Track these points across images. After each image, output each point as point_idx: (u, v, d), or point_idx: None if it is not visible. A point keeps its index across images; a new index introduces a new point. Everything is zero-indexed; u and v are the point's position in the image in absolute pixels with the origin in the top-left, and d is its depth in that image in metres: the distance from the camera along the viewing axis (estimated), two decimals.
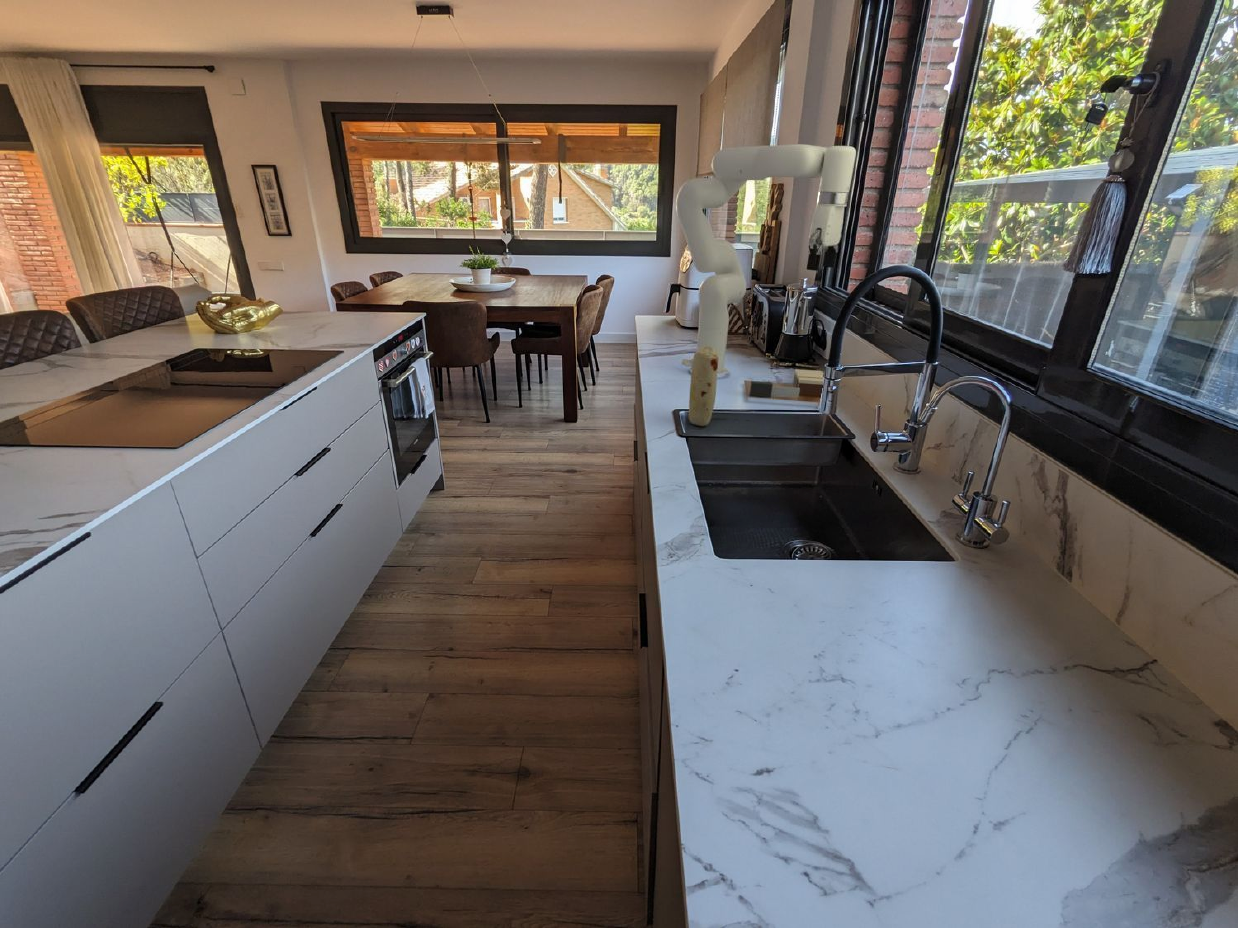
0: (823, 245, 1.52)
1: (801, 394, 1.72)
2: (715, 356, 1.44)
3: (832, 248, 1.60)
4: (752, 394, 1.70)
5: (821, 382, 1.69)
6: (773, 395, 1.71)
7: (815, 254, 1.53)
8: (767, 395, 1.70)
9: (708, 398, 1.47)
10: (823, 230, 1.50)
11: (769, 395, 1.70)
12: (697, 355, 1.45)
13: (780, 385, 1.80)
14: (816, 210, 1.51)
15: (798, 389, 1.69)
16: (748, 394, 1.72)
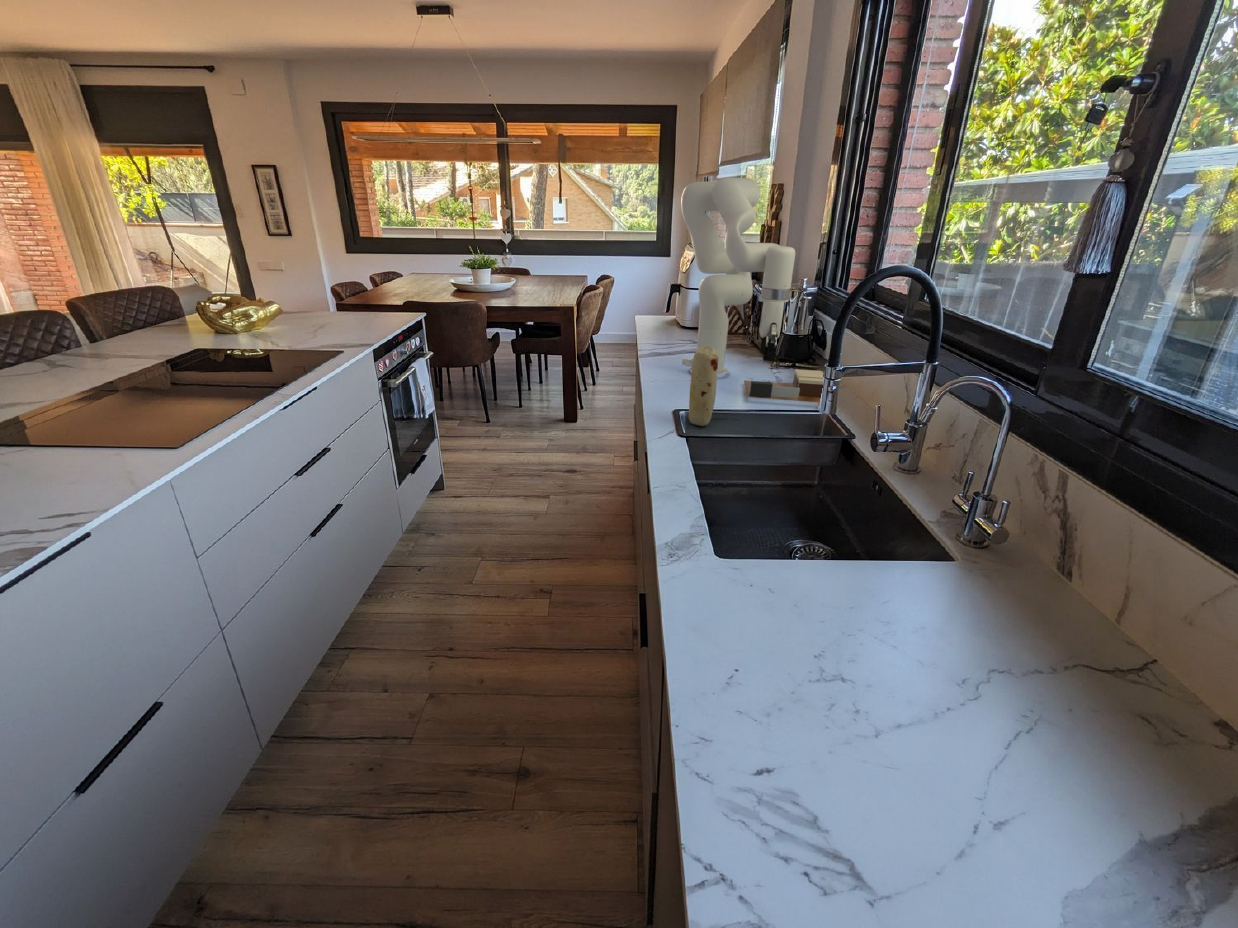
0: (777, 337, 1.59)
1: (801, 394, 1.72)
2: (715, 356, 1.44)
3: None
4: (752, 394, 1.70)
5: (821, 382, 1.69)
6: (773, 395, 1.71)
7: (773, 347, 1.59)
8: (767, 395, 1.70)
9: (708, 398, 1.47)
10: (778, 324, 1.57)
11: (769, 395, 1.70)
12: (697, 355, 1.45)
13: (780, 385, 1.80)
14: (768, 306, 1.56)
15: (798, 389, 1.69)
16: (748, 394, 1.72)
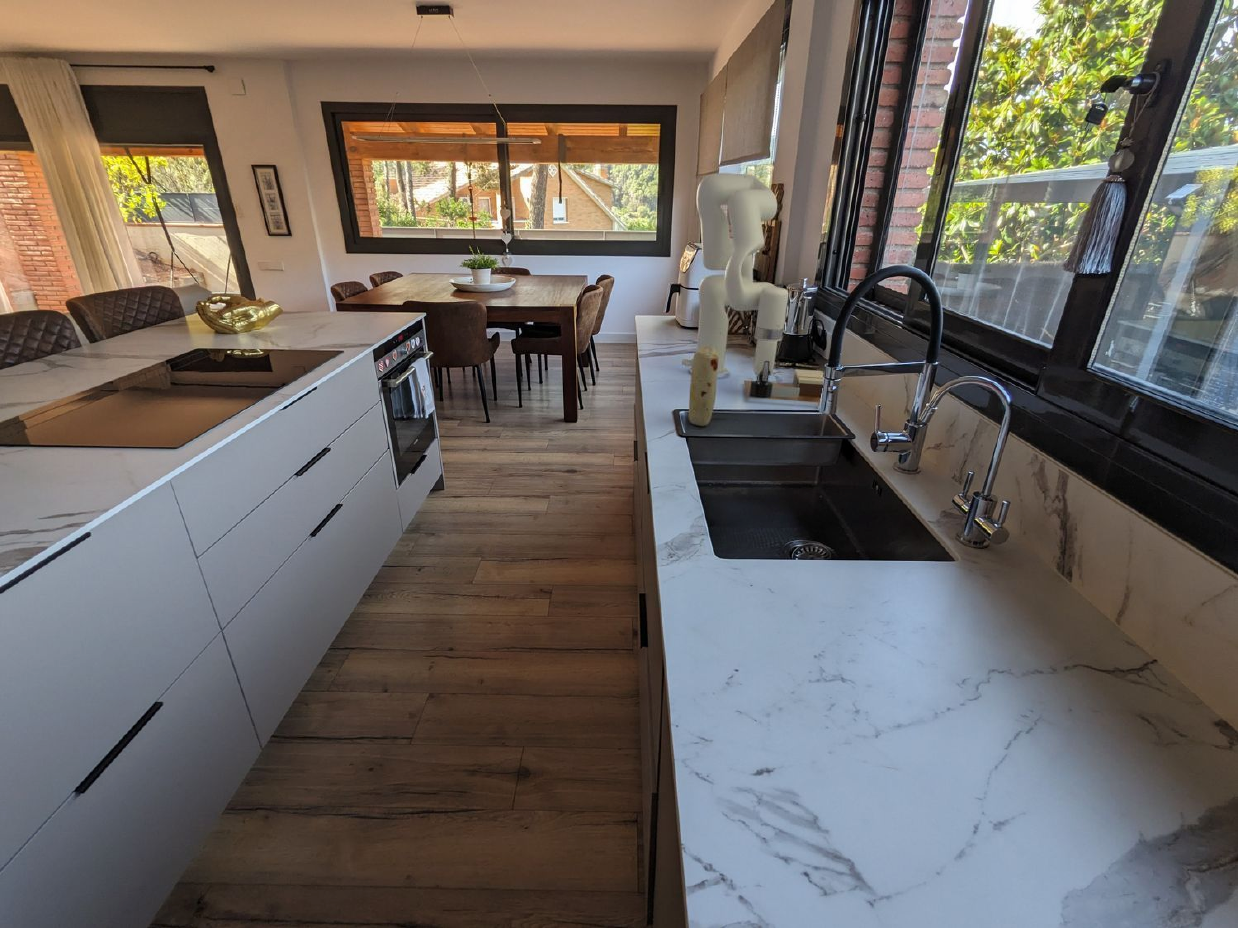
0: (770, 375, 1.64)
1: (801, 394, 1.72)
2: (715, 356, 1.44)
3: (761, 377, 1.70)
4: (752, 394, 1.70)
5: (821, 382, 1.69)
6: (773, 395, 1.71)
7: (764, 384, 1.68)
8: (767, 395, 1.70)
9: (708, 398, 1.47)
10: (771, 363, 1.62)
11: (769, 395, 1.70)
12: (697, 355, 1.45)
13: (780, 385, 1.80)
14: (762, 345, 1.60)
15: (798, 389, 1.69)
16: (748, 394, 1.72)
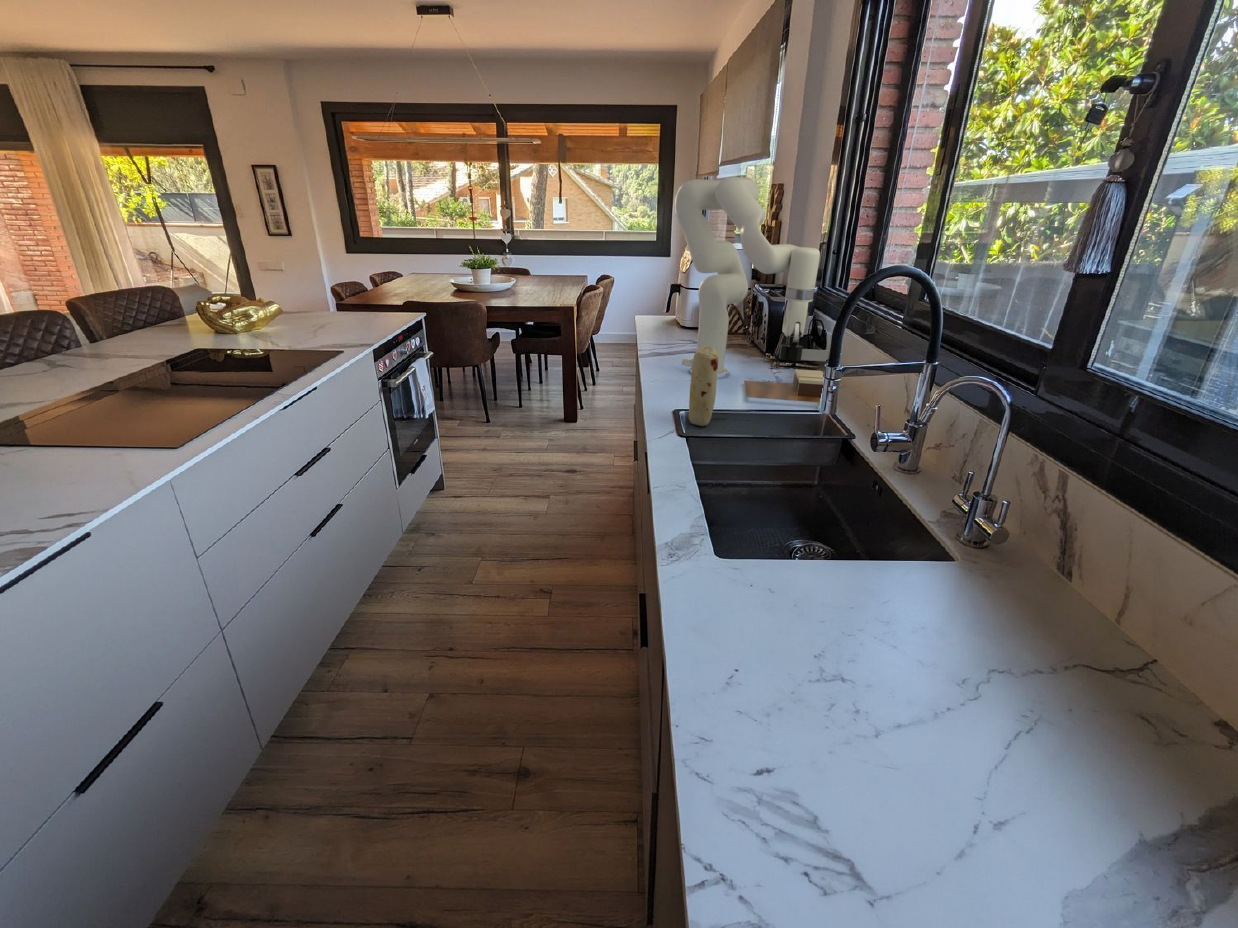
0: (801, 336, 1.63)
1: (801, 394, 1.72)
2: (715, 356, 1.44)
3: None
4: (782, 357, 1.70)
5: (821, 382, 1.69)
6: (803, 359, 1.70)
7: (794, 347, 1.67)
8: (797, 358, 1.69)
9: (708, 398, 1.47)
10: (802, 324, 1.61)
11: (799, 358, 1.69)
12: (697, 355, 1.45)
13: (780, 385, 1.80)
14: (793, 306, 1.60)
15: None
16: (748, 394, 1.72)
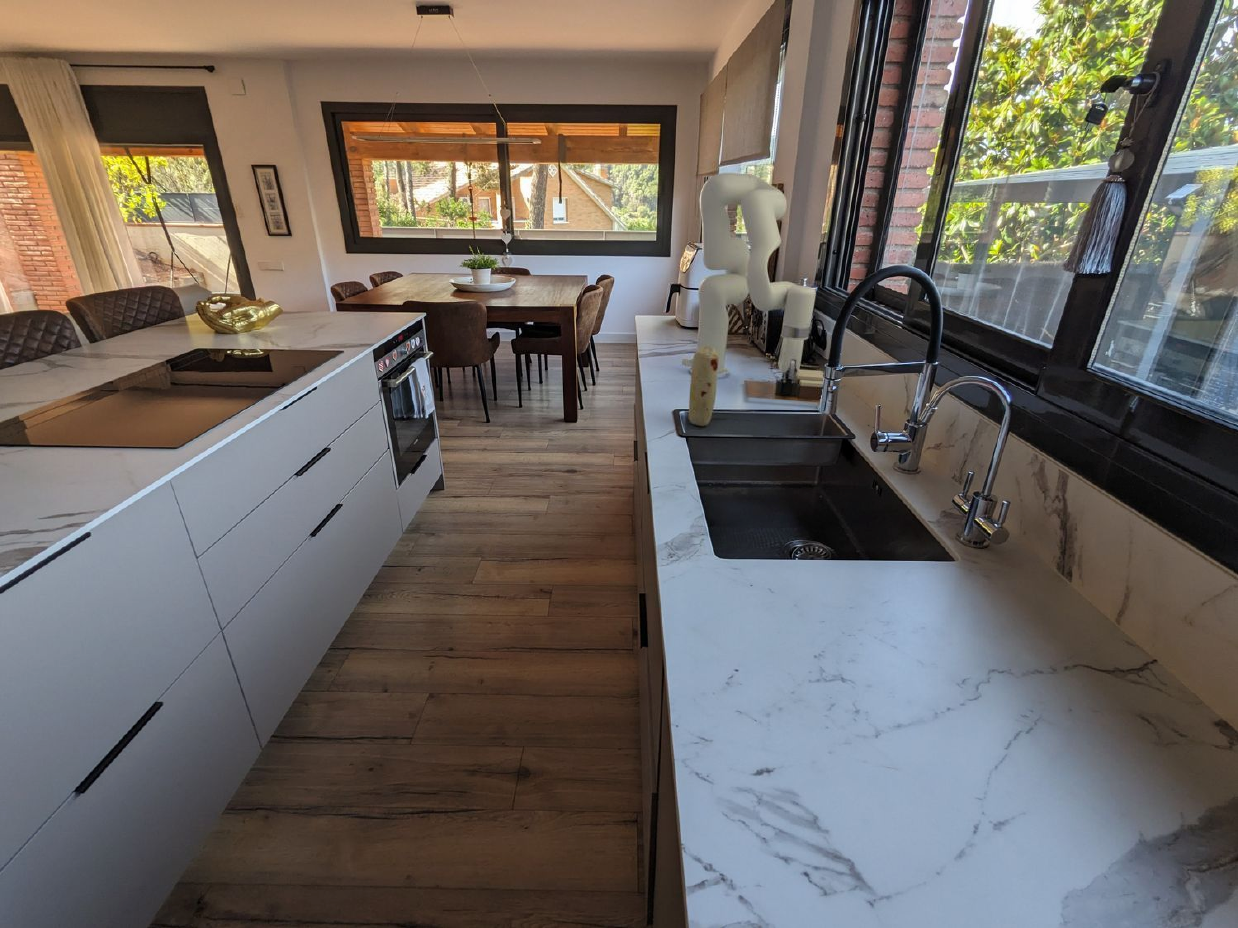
0: (796, 373, 1.65)
1: (802, 397, 1.69)
2: (715, 356, 1.44)
3: None
4: (777, 393, 1.72)
5: (822, 385, 1.67)
6: None
7: None
8: (792, 394, 1.71)
9: (708, 398, 1.47)
10: (797, 361, 1.63)
11: (794, 394, 1.71)
12: (697, 355, 1.45)
13: None
14: (789, 344, 1.62)
15: None
16: (748, 394, 1.72)
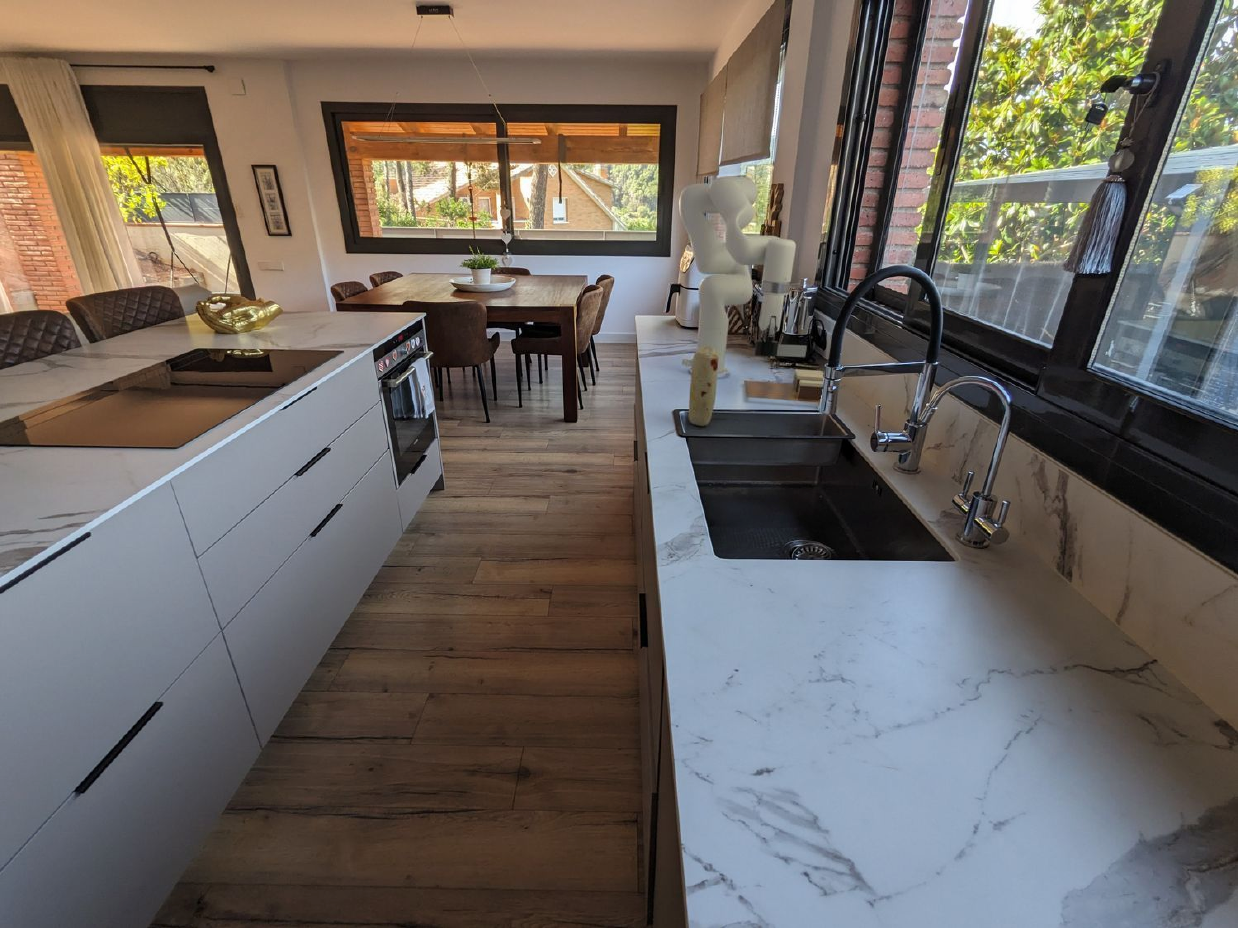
0: None
1: (802, 397, 1.69)
2: (715, 356, 1.44)
3: None
4: (757, 353, 1.65)
5: (822, 385, 1.67)
6: (779, 354, 1.65)
7: None
8: (773, 354, 1.65)
9: (708, 398, 1.47)
10: (778, 318, 1.56)
11: (775, 354, 1.65)
12: (697, 355, 1.45)
13: (780, 385, 1.80)
14: (768, 299, 1.55)
15: (805, 347, 1.64)
16: (748, 394, 1.72)
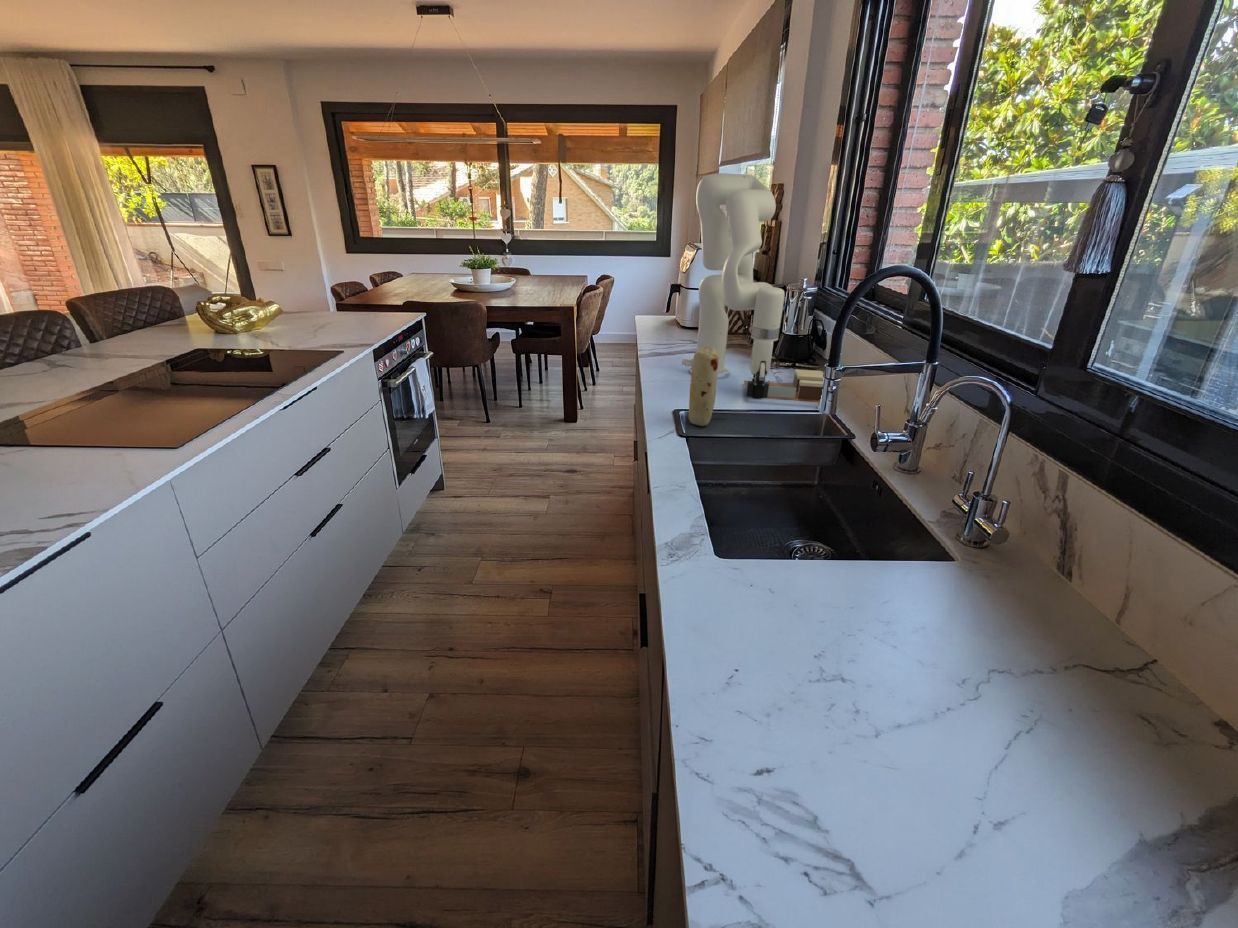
0: (767, 374, 1.64)
1: (802, 397, 1.69)
2: (715, 356, 1.44)
3: (758, 375, 1.71)
4: (749, 394, 1.70)
5: (822, 385, 1.67)
6: (770, 395, 1.70)
7: None
8: (764, 395, 1.70)
9: (708, 398, 1.47)
10: (767, 362, 1.62)
11: (766, 395, 1.70)
12: (697, 355, 1.45)
13: (780, 385, 1.80)
14: (758, 345, 1.61)
15: (795, 389, 1.69)
16: None
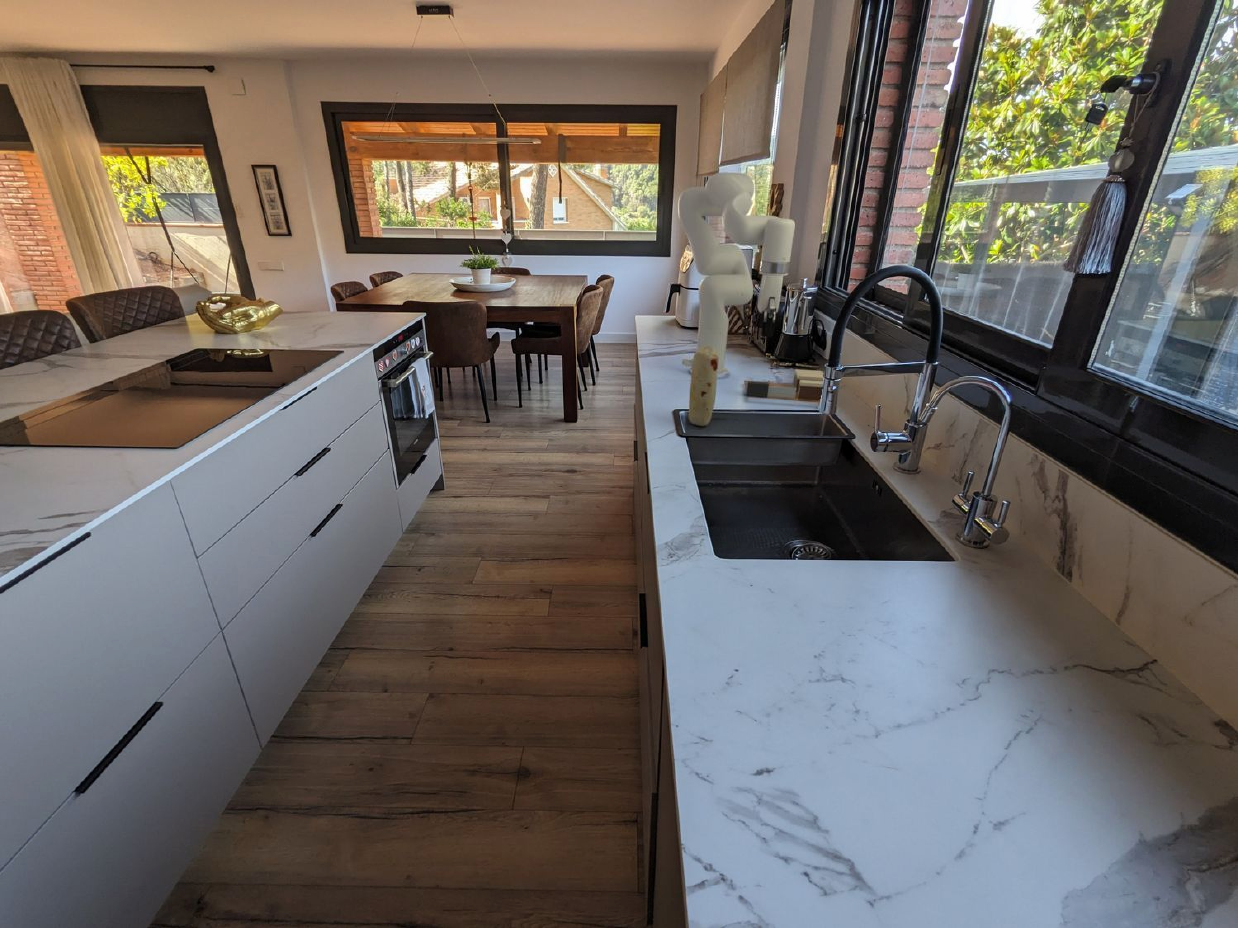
0: (776, 312, 1.56)
1: (802, 397, 1.69)
2: (715, 356, 1.44)
3: None
4: (749, 394, 1.70)
5: (822, 385, 1.67)
6: (770, 395, 1.70)
7: (771, 322, 1.56)
8: (764, 395, 1.70)
9: (708, 398, 1.47)
10: (776, 299, 1.54)
11: (766, 395, 1.70)
12: (697, 355, 1.45)
13: (780, 385, 1.80)
14: (767, 280, 1.53)
15: (795, 389, 1.69)
16: None
